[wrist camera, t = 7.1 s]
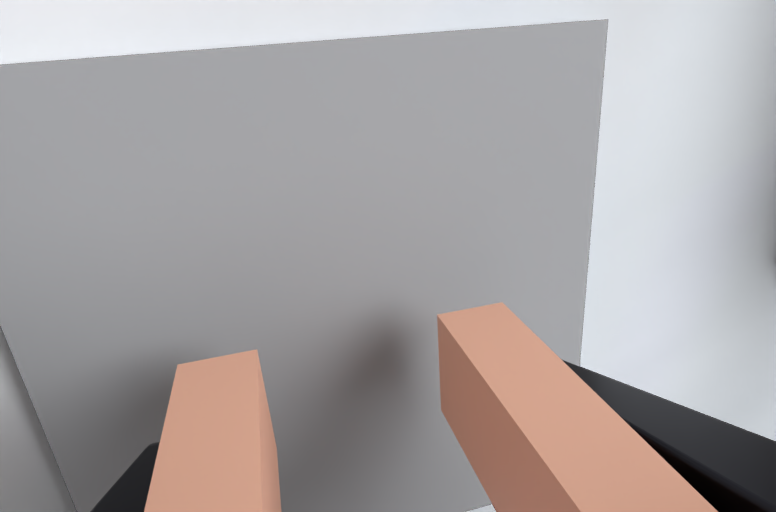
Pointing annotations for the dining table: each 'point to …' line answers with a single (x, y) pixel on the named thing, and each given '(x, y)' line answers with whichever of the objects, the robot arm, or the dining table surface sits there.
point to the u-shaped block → (464, 415)
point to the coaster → (294, 240)
